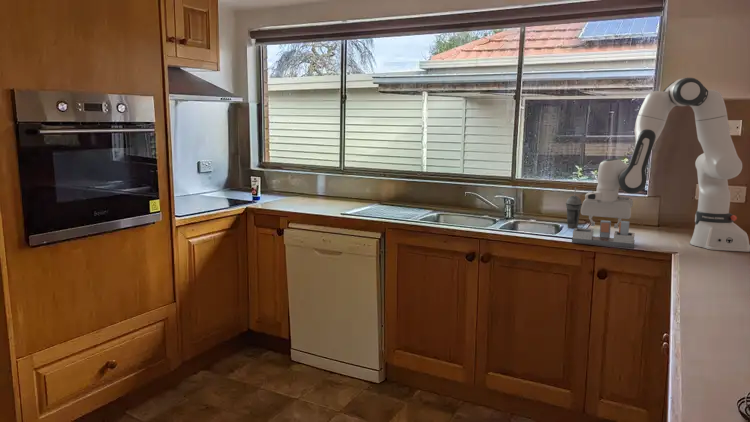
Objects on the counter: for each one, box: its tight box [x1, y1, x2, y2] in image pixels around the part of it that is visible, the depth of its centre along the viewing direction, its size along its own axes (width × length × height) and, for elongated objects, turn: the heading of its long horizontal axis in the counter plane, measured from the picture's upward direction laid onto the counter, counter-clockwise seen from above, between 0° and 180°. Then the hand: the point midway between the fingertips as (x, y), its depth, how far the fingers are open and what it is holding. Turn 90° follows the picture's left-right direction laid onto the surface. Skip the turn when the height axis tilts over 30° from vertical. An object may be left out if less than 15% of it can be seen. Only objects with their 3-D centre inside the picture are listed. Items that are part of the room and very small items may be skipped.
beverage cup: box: [565, 187, 583, 229], centre depth 261 cm, size 7×7×20 cm
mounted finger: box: [618, 220, 630, 235], centre depth 223 cm, size 4×4×8 cm
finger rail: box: [571, 227, 636, 249], centre depth 227 cm, size 24×8×5 cm, turn 63°
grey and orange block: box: [599, 219, 612, 238], centre depth 235 cm, size 4×4×8 cm
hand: (604, 227), depth 235 cm, fingers open, 8 cm apart
